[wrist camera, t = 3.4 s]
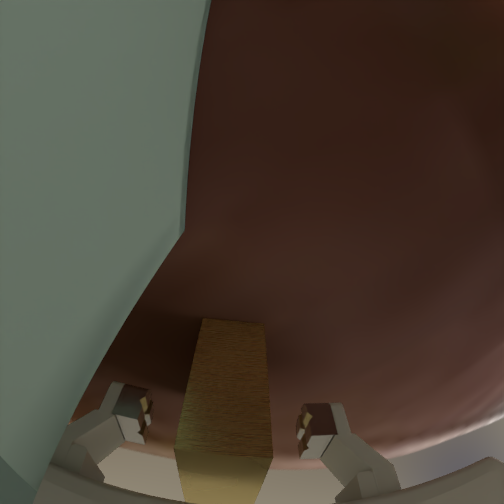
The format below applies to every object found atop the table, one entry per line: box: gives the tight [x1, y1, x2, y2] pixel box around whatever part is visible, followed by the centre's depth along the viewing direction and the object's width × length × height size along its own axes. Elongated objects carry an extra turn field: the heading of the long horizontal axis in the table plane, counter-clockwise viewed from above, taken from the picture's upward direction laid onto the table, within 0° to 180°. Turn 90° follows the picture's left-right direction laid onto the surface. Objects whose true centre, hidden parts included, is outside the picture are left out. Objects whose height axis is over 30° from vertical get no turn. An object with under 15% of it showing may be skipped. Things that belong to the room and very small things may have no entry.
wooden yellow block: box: [174, 318, 273, 504], centre depth 9 cm, size 2×5×6 cm, turn 174°
